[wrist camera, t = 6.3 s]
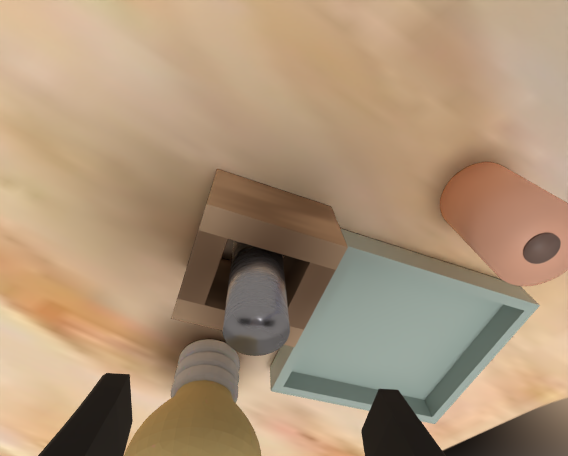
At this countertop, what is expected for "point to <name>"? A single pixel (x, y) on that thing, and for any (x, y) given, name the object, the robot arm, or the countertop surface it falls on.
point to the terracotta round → (508, 223)
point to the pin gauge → (256, 301)
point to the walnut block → (263, 234)
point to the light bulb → (199, 409)
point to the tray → (400, 330)
